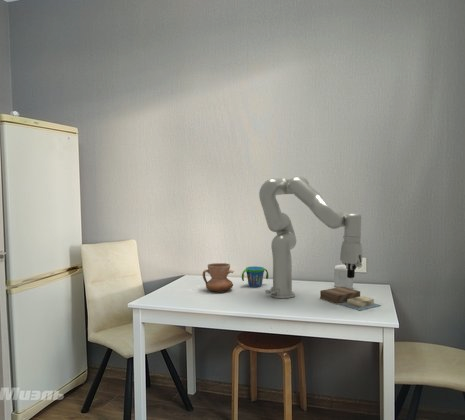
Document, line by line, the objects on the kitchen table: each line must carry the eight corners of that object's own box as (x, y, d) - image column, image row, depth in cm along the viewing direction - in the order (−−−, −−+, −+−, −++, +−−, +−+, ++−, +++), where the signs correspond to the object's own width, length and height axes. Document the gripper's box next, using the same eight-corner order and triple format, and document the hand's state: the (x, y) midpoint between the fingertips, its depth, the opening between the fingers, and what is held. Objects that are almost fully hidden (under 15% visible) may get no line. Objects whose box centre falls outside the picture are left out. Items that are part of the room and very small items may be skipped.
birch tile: (347, 299, 203) (347, 304, 203) (358, 302, 197) (358, 307, 197) (362, 296, 208) (362, 300, 208) (373, 299, 202) (373, 304, 202)
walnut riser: (337, 304, 205) (337, 295, 204) (320, 298, 215) (320, 290, 215) (360, 299, 212) (360, 291, 212) (342, 294, 223) (342, 286, 222)
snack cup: (265, 282, 250) (265, 265, 249) (271, 287, 240) (271, 268, 239) (239, 284, 246) (239, 267, 246) (244, 289, 236) (244, 270, 235)
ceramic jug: (238, 288, 238) (238, 262, 237) (229, 294, 224) (228, 267, 224) (208, 286, 244) (208, 261, 244) (197, 292, 231) (196, 266, 230)
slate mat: (359, 310, 194) (359, 309, 194) (338, 304, 205) (338, 303, 205) (380, 305, 201) (380, 305, 201) (359, 299, 212) (359, 298, 212)
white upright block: (354, 287, 235) (354, 265, 235) (351, 289, 232) (351, 266, 231) (336, 285, 242) (336, 263, 241) (333, 286, 238) (333, 264, 237)
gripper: (335, 237, 209) (333, 275, 211) (358, 242, 197) (357, 281, 198) (346, 236, 213) (344, 273, 215) (370, 241, 200) (368, 280, 202)
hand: (350, 277), depth 206 cm, fingers closed
